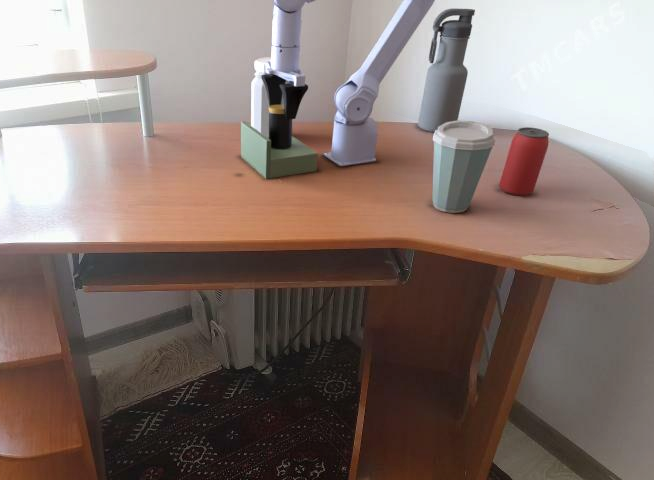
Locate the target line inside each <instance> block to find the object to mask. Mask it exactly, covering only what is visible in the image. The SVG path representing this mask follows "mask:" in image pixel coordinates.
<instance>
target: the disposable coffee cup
mask: <svg viewBox="0 0 654 480" xmlns="http://www.w3.org/2000/svg"><path fill="white" fill-rule="evenodd" d="M432 141H433V170H432V177H433V178H432V204H433V205H432V206H433V207H434V208H435V209H436V210H438V211H441V212H443V213H449V214H458V213H459V214H460V213H463V212H465V211H467V209H468V207H470V205H471V203H472V200H473V198H474V195H475V192H476V189H477V187H478V185H479V182H480V180H481V177H482V175H483V173H484V170H485V167H486V164H487V163H488V159H489V157H490V154H491V152H492V150H493V147H495V144H496V143H495V141H496V138H495V135H494V129H493V128H492V127H490V126H489V125H487V124H486V123H482V122H478V121H472V120H461V119H460V120H459V119H458V120H457V121H452V122H446V123H444V124H442V125H440V126H439V127H438V130H436V131H435V132H433V136H432Z"/></svg>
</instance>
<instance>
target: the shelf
mask: <svg viewBox="0 0 654 480" xmlns="http://www.w3.org/2000/svg"><path fill="white" fill-rule="evenodd" d="M318 155H319V153H318V152H316V150H313V149H312V148H310V147H309V146H308V145H307V144H304V143H303V142H302V141H300V140H299V139H297V138H296V137H294V136H293V135H292V145H291V146H290V147H285V148H276V147H271V140H270V139H269V136H268V137H265V136H264V135H263V134H261V133H260V132H259V131H257V130H256V129H255V128H253V127H252V126H251V124H249V123H248V122H247V121H240V158H241V159H243V160H244V161H245V162H246V163H247V164H248V165H250V166H251V168H253V169H254V170H255V171H256V172H257V173H258V174H260V175H261V177H263V178H264V179H266V180H267V179H273V178H280V177H287V176H292V175H293V176H294V175H298V174H306V173H313V172H317V165H318Z"/></svg>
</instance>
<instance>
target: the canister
mask: <svg viewBox="0 0 654 480" xmlns="http://www.w3.org/2000/svg"><path fill="white" fill-rule="evenodd" d="M292 136H293V119H290V120H287V119H285V113H284V105H271V106H269V139H270V140H271V147H276V148H285V147H290V146H291V145H292Z"/></svg>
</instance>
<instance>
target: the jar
mask: <svg viewBox="0 0 654 480" xmlns="http://www.w3.org/2000/svg"><path fill="white" fill-rule="evenodd" d="M266 62H271V56H267V57H265V56H264V57H259V58H256V60H254V70H255V72H254V76H255V77H254V78H253V79H252V81H251V87H250V89H251V91H250V92H251V96H250V97H251V99H250V100H251V101H250V102H251V103H250V108H251V109H250V125H251V126H252V127H253V128H255V129H256V130H257V131H259V132H260V133H261V134H263V135H264V136H265V137H268V136H269V101H268V95H267V91H266V88H265V85H264V82H263V80H262V78H261V75H266V74H267V73H266ZM285 84H289V81H287V80H286V82H285ZM281 105H284V99H283V94H282V101H281Z"/></svg>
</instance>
